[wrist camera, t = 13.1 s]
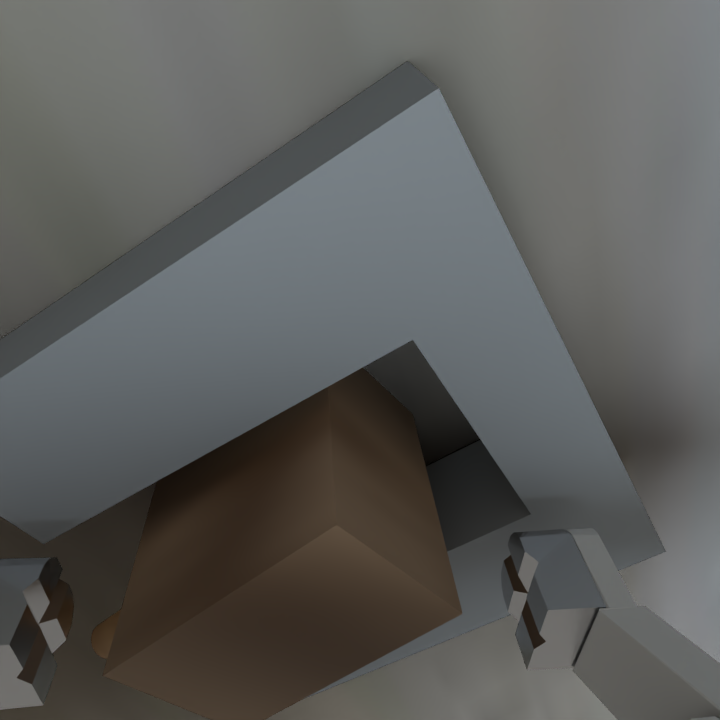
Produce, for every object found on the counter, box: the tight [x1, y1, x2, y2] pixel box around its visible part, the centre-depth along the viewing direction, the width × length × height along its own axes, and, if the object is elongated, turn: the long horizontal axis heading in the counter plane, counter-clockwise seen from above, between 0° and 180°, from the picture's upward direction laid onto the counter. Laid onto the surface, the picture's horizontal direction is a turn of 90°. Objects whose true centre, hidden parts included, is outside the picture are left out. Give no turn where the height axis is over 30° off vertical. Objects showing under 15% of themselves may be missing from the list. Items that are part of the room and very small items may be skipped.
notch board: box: [0, 61, 666, 699], centre depth 12 cm, size 10×11×2 cm
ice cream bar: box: [91, 368, 463, 720], centre depth 12 cm, size 8×3×5 cm, turn 130°
